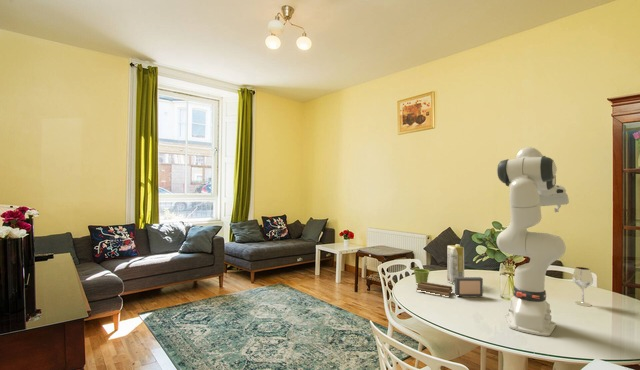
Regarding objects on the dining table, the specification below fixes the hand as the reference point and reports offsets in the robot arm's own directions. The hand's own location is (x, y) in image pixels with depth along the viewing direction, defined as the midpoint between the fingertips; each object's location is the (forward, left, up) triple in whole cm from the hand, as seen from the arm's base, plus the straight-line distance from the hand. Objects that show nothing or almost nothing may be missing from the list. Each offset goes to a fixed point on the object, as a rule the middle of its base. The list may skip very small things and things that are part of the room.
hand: (546, 212), depth 182 cm
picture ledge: (-35, +52, -45) cm, 77 cm away
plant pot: (-24, +63, -45) cm, 81 cm away
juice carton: (-9, +46, -45) cm, 65 cm away
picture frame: (-31, +35, -45) cm, 65 cm away
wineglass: (-11, -15, -45) cm, 49 cm away
